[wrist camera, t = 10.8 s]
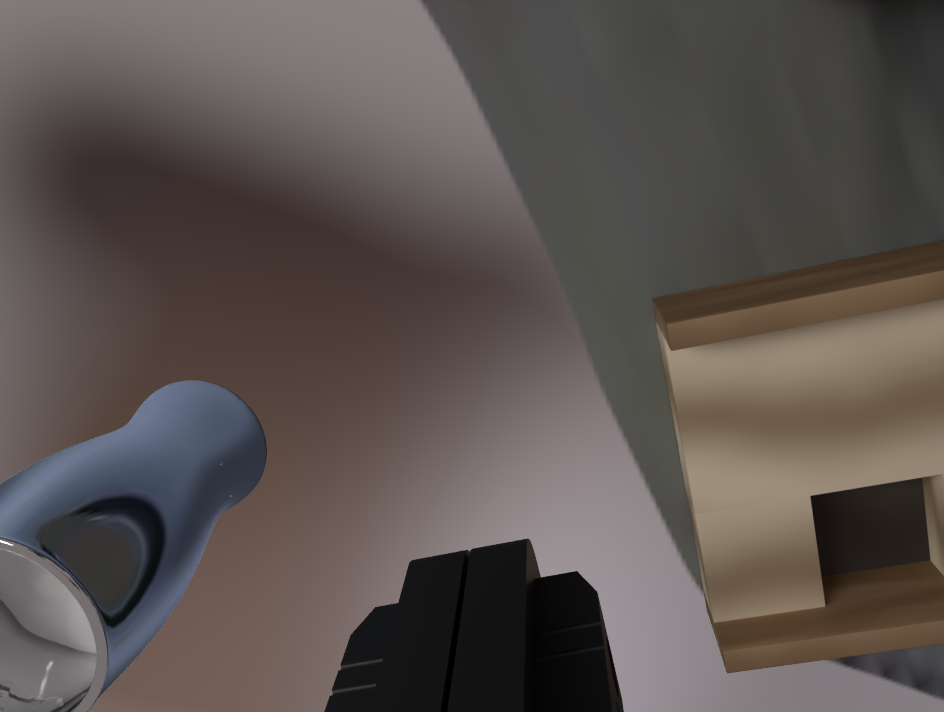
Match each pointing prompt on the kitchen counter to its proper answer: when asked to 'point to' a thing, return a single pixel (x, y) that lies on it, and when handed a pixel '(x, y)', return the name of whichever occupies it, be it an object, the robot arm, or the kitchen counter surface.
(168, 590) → the blue flashlight
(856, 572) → the trap tray
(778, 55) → the kitchen counter surface
